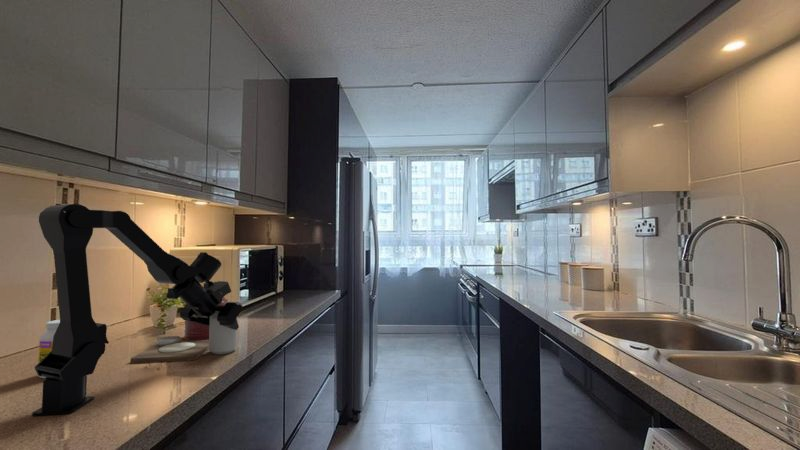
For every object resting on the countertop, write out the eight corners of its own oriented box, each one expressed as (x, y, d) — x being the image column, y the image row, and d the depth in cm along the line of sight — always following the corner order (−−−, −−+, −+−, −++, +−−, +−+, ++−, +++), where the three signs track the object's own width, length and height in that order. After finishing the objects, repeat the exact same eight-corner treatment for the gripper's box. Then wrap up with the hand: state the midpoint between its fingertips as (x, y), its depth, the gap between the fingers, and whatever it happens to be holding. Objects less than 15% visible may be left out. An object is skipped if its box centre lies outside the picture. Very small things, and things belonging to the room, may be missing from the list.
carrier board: (194, 359, 96) (194, 349, 96) (130, 362, 93) (130, 352, 94) (217, 342, 112) (217, 334, 112) (163, 345, 110) (163, 336, 110)
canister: (200, 343, 112) (201, 287, 113) (175, 338, 117) (176, 285, 118) (235, 333, 123) (236, 283, 124) (210, 329, 129) (212, 281, 130)
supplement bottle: (29, 380, 82) (32, 324, 82) (49, 370, 88) (52, 319, 89) (64, 377, 83) (67, 323, 84) (81, 368, 90) (83, 317, 90)
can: (225, 356, 99) (226, 313, 100) (202, 354, 100) (203, 312, 101) (242, 348, 106) (243, 308, 107) (221, 346, 108) (221, 307, 108)
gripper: (238, 273, 97) (266, 306, 107) (190, 272, 104) (220, 303, 114) (213, 307, 90) (246, 339, 99) (163, 303, 96) (198, 333, 106)
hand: (227, 327), depth 105 cm, fingers closed on can, 7 cm apart
